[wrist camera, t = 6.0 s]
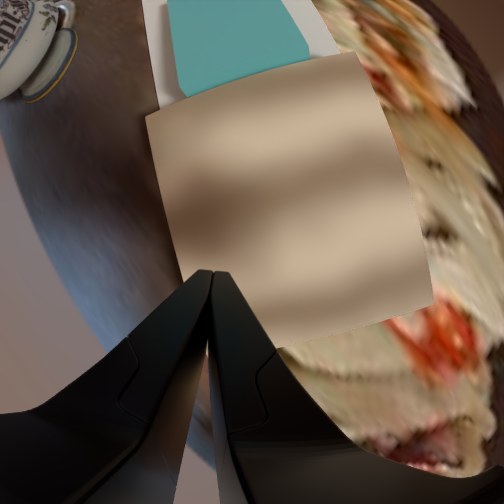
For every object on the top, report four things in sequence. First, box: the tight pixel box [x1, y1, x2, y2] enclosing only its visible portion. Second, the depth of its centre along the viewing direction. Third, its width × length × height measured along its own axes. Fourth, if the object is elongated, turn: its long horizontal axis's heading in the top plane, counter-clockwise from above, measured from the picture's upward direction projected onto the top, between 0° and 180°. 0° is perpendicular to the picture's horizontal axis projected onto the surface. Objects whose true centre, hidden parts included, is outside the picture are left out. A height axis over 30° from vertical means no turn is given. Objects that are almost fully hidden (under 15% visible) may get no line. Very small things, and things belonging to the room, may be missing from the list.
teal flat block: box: [167, 0, 310, 98], centre depth 17 cm, size 2×8×12 cm
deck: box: [145, 51, 434, 357], centre depth 18 cm, size 16×14×3 cm
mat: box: [142, 0, 341, 110], centre depth 19 cm, size 16×14×1 cm
